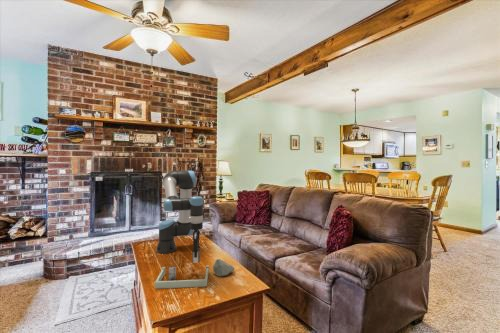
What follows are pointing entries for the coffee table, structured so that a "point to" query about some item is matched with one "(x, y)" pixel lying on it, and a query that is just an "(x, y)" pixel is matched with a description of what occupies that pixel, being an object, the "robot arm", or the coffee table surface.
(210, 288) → the coffee table surface
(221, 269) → the decorative stone
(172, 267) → the metal cylinder
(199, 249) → the walnut block
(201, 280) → the bay
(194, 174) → the robot arm
